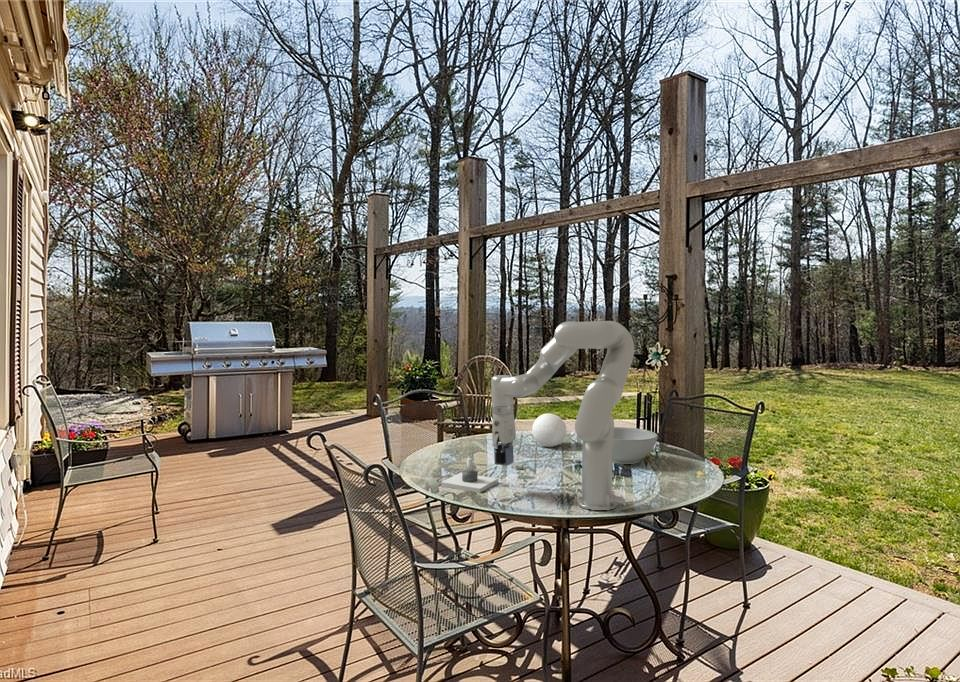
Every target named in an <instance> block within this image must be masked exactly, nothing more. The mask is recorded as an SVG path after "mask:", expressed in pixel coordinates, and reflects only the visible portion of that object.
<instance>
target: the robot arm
mask: <svg viewBox="0 0 960 682" xmlns="http://www.w3.org/2000/svg"><path fill="white" fill-rule="evenodd" d="M579 349H583V350H585V349H595V350H597V349H598V350H599V349H600V350H601V349H607V350H606V355H605V357H604V359H603V361H602V362H603V363H602V365H601V369H600V372H599V374H598V376H597V378H596V379H595V380H593V381H591V382H590V384H588V386H587V387H586V389H585V392H584V394H583V396H582V398H581V399H582V400H581V403H580V406H579V409H578V411H577V412H578V413H577V414H576V419H575V422H574V430H575V433H576V435H577V437H578V438H579V439H580V440H581V441H582V449H581V450H582V451H581V452H582V453H581V454H582V455H581V459H582V460H581V463H582V464H581V496H580V497H577V499H576V505H577V506H578V507H580V508H582V509H585V510H588V509H591V510H590V511H594V510H607V511H611V510H610V509H612V510H614V509H616V507H617V505H623V506H624V505H625V503H626V499H625V498H624V497H623V496H619V495H616V494H615V490H613V486H612V485H613V462H612V447H613V435H614V427H615V422H614V420H615V419H614V417H613V415H612V411H613V409H614V406H616V405H617V404H619V402H620V401H621V399H622V395H623V392H624V389H625V386H626V382H627V381H628V380H627V379H628V376H629V372H630V370H631V366H632V363H633V359H634V355H635V344H634V339H633V336H632V335H631V333H630V332H629V330H628V329H627V328H626V327H625V326H624V325H622V324H621V323H619V322H617V321H615V320H614V321H613V320H598V321H597V320H594V321H593V320H592V321H573V320H572V321H563V322H560V324H558V325H557V326H556V329H554V335H553V337H552V338H551V339H550V340H549V341H548V342H547V343H546V344H545V345H543V347H542V348H541V350H540V352H539V358H538V360H537V361H536V363H535V364H534V365H532V366H531V368H530V369H528V371H527V372H526V373H523V374H520V375H515V376H512V375H508V374H500V375H499V374H498V375H493V376H492V377H491V379H490V380H491V382H490V383H491V385H490V387H491V415H492V422H491V424H492V427H491V429H492V432H491V434H492V435H491V436H492V437H491V438H492V439H491V440H492V447H493V449H494V448H495V452H496V463H497V464H505V452H504V444H511V445H512V446H513V443H514V441H515V440H516V439H517V436H516V435H517V434H516V433H517V431H516V422H515V421H516V420H515V416H514V398H524V397H527V396H530V395H533V394H535V393H536V392H538V391H539V390H540V389H541V388H542V387H544V385H545V384H546V383H547V382H548V381H549V380H551V378H552V377H553V375H555V373H556V372H557V371H558V370H559V368H560V367H561V366H562V365H564V364H565V362H566V361H567V360H569V358H571V356H572V355H574V354H575V353H576V352H577V351H578V350H579ZM498 445H501V447H500V446H498Z"/></svg>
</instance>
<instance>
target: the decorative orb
mask: <svg viewBox="0 0 960 682" xmlns="http://www.w3.org/2000/svg"><path fill="white" fill-rule="evenodd" d="M531 432H532V436H533V439H534V440H535V441H536V443H537V444H538V445H540V446H542V447H545V448H547V447H548V448H553V447H557V446H558V445H560V444H562V442H563V441H564V440H565V438H566V435H567V426H566V422H565V421H564V420H563V418H561V417H560V416H559V415H557V414H554V413H550V412H548V413H543V414H540V415H539V416H537V418H536V419H535V420H534V422H533V424H532V428H531Z"/></svg>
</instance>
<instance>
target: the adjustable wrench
mask: <svg viewBox="0 0 960 682" xmlns="http://www.w3.org/2000/svg"><path fill="white" fill-rule="evenodd" d="M510 466H511V467H512V468H514V470H516V471H521V470H522V466H521V465H520V464H519V462H517V461H516V460H514V463H512V464H510Z"/></svg>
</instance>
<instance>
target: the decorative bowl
mask: <svg viewBox="0 0 960 682" xmlns="http://www.w3.org/2000/svg"><path fill="white" fill-rule="evenodd" d="M658 438H659V436H658V434H657V433H656V432H654V431H651V430H648V429H644V428H643V429H642V428H636V427H626V426H625V427H623V426H621V427H620V426H614V435H613V447H612V464H618V465H624V464H633V465H636V464H635V463H638V462H639V463H640V461H641V460H643V459H644V458H646V457H648V455H650V454H651V452H652V451H653V450H654V449H655V446H656V444H657V441H658ZM639 463H638V464H639Z"/></svg>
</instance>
